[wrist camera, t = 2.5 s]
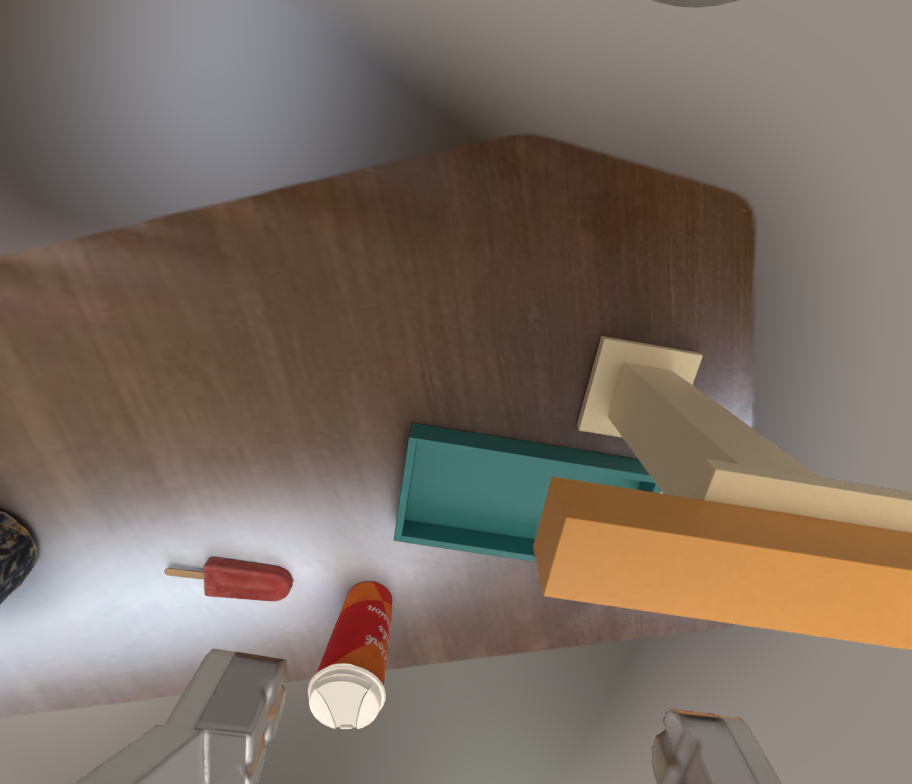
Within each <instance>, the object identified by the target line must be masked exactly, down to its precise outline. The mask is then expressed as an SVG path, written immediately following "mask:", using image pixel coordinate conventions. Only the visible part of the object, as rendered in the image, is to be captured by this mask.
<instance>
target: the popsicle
mask: <svg viewBox="0 0 912 784" xmlns="http://www.w3.org/2000/svg"><path fill="white" fill-rule="evenodd" d="M164 572H165V574H166V575H170V576H178V577H187V578H196V579H204V589H205V595H206V596H211V597H225V598H237V599H250V600H263V601H278V600H281V599H283V598H285V597H286V596H287V595H288V593H289V591H290V589H291V587H292V583H293V581H292V578H291V575H290V574H289V573H288V572H287V571H286V570H285V569H283V568H280V567H277V566H271V565H264V564H257V563H250V562H243V561H236V560H229V559H222V558H216V557H210V558H209V559H208V561H207V562H206V564H205V565H204V572H199V571H190V570H181V569H172V568H167V569H165V571H164Z"/></svg>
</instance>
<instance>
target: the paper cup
mask: <svg viewBox="0 0 912 784" xmlns="http://www.w3.org/2000/svg"><path fill="white" fill-rule="evenodd" d="M391 612H392V596H391V594H390V592H389V591H388V589H387V588H385V587H384V586H383V585H381V584H379V583H376V582H361V583H359V584H357V585H355V586H354V587H353V588H352V589H351V590H350V592H349V593H348V596H347V598H346V600H345V602H344V605H343V607H342V610H341V612H340V615H339V617H338V620H337V622H336V625H335V628H334V630H333V633H332V635H331V638H330V640H329V643H328V645H327V648H326V651H325V653H324V656H323V658H322V661H321V663H320V666H319V669H318V671H317V673H316V674H315V675H314V676H313V678H312V679H311V681H310V683H309V687H308V695H309V705H310V709H311V711H312V713H313V715H314V716H315V717H316V719H318V720H319V721H320V722H321V723H323V724H324V725H326V726H328V727H331V728H334V729H335V728H336V726H337V727H340V728H341V729H352V727H357V729H360V728H362V727H365V726H367V725H368V724H370V723H371V722H372V721H373V720H374V719H375V718H376V716H377V714H378V712H379V711H380V709H381V708H382V707H383V705H384V702H385V689H384V678H385V669H386V660H387V651H388V641H389V632H390V622H391Z"/></svg>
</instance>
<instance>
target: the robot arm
mask: <svg viewBox="0 0 912 784" xmlns="http://www.w3.org/2000/svg"><path fill="white" fill-rule="evenodd" d="M286 667H287V660H284V659H278V658H272V657H266V656H259V655H253V654H247V653H241V652H233V651H226V650H219V649H212V650H211V651H210V652H209V653H208V654H207V655H206V656H205V658H204V660H203V661H202V663H201V665H200V666H199V668H198V670H197V671H196V673H195V675H194V676H193V678H192V680H191V681H190V683H189V685H188V686H187V688H186V690H185V691H184V693H183V695H182V696H181V698H180V700H179V702H178V704H177V705H176V707H175V708H174V710H173V712H172V713H171V715H170V717H169V718H168V720H167V722H166V723H165V725H155V726H154V727H153V728H151V729H150V730H148V731H147V732H145V733H144V734H143V735H141V736H140V737H138V738H137V739H136V740H134V741H133V742H131V743H130V744H129V745H127V746H126V747H124V748H123V749H122V750H120V751H119V752H117V753H116V754H115V755H113V756H112V757H110V758H109V759H107V760H106V761H105V762H103V763H102V764H100V765H99V766H98V767H96V768H95V769H93V770H92V771H91V772H89V773H88V774H86V775H85V776H84V777H82V778H81V779H79V780H78V781H77V782H75V783H74V784H257V783H258V780H259V777H260V775H261V772H262V770H263V767H264V758H265V748H266V747H267V746H268V745H269V744H270V743H272V742H273V739H274V737H275V734H276V731H277V728H278V725H279V721H280V718H281V714H282V710H283V705H284V699H285V687H284V686H283V685H282V682H283V680H284V677H285V675H286ZM663 724H664V726H665V729H666V730H664V731H663V732H661V733H660V734H658V735H657V736H656V738H655V741H654V744H653V746H652V766H653V771H654V775H655V779H656V782H657V784H782V783H781V781H780V780H779V778H778V776H777V774H776V773H775V771H774V769H773V768H772V766H771V764H770V762H769V761H768V759H767V757H766V755H765V754H764V752H763V750H762V748H761V747H760V745H759V743H758V742H757V740H756V738H755V736H754V735H753V733H752V731H751V729H750V728H749V726H748V725H747V723H746V722H745V721H744V720H743V719H742V718H738V717H730V716H722V715H715V714H711V713H702V712H693V711H684V710H676V709H671V710H669V711H668V712H666V714H665V716H664V719H663Z"/></svg>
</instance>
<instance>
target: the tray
mask: <svg viewBox="0 0 912 784" xmlns="http://www.w3.org/2000/svg"><path fill="white" fill-rule="evenodd" d="M552 477H559V478H565V479H572V480H578V481H584V482H591V483H597V484H603V485H610V486H616V487H622V488H629V489H635V490H641V491H648V492H654V493H660V491H661V489H660V488H659V487H658V485H657V484H656V483H655V481H654V480H653V479H652V477H651V476H650V474H649V473H648V472H647V470H646V469H645V468H644V466H643V465H642V463H641V462H640V461H639V459H633V458H626V457H620V456H614V455H608V454H601V453H595V452H589V451H583V450H577V449H570V448H564V447H558V446H552V445H545V444H539V443H533V442H527V441H520V440H514V439H508V438H502V437H496V436H489V435H483V434H477V433H471V432H464V431H458V430H452V429H446V428H439V427H433V426H427V425H421V424H415V423H413V424H412V427H411V432H410V436H409V441H408V448H407V454H406V461H405V468H404V474H403V481H402V488H401V494H400V501H399V508H398V514H397V521H396V528H395V534H394V541H400V542H406V543H413V544H420V545H426V546H433V547H440V548H446V549H453V550H460V551H466V552H473V553H480V554H486V555H493V556H500V557H506V558H513V559H520V560H527V561H533V562H536V559H535V554H534V549H533V545H534V541H535V538H536V534H537V530H538V527H539V523H540V519H541V515H542V512H543V508H544V504H545V500H546V497H547V493H548V489H549V485H550V482H551V478H552Z"/></svg>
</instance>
